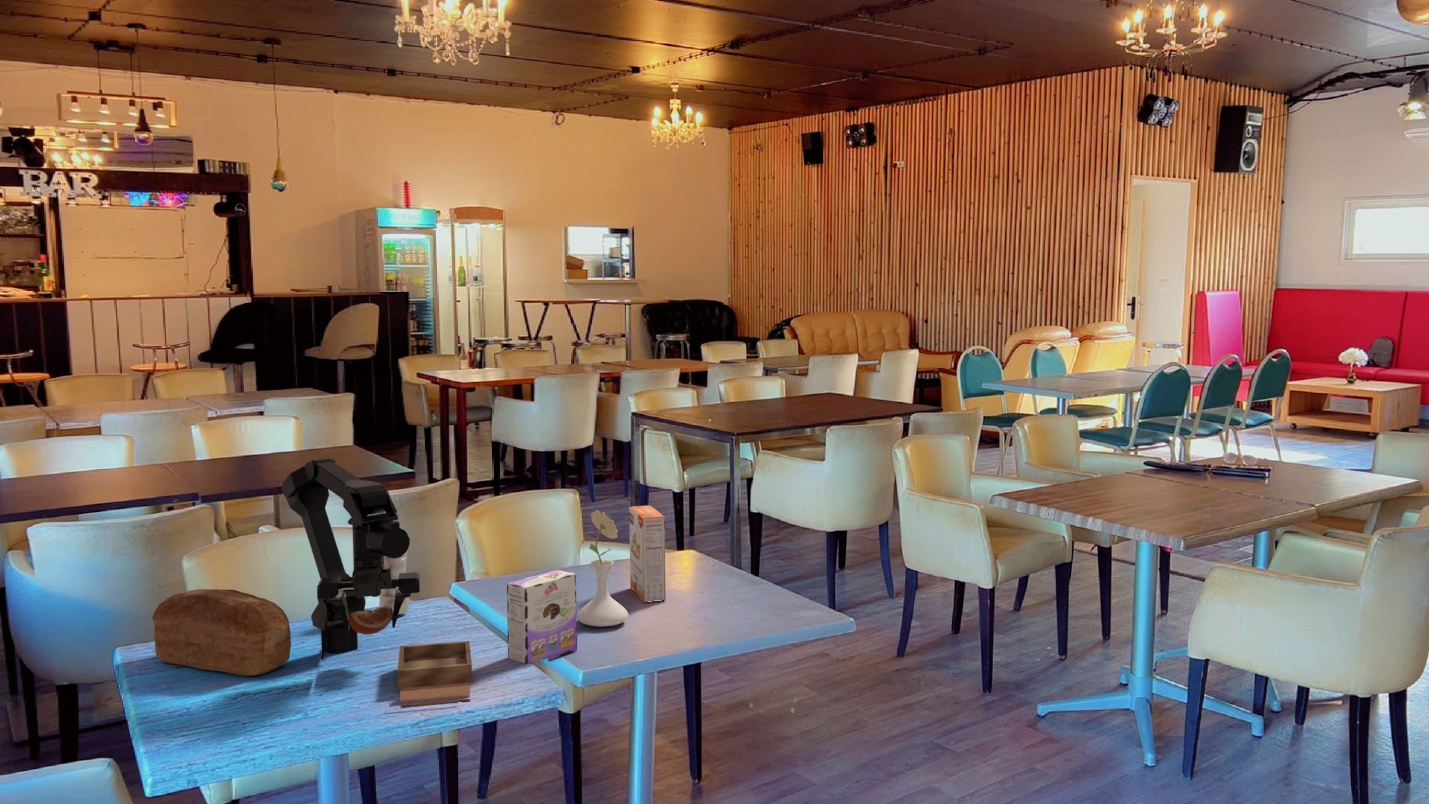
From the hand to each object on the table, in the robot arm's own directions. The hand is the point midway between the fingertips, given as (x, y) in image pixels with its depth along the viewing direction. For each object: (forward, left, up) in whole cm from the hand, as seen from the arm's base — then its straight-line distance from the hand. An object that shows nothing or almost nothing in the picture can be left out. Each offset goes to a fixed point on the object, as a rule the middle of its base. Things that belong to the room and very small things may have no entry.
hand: (370, 628), depth 206 cm
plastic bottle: (+3, +36, -8) cm, 37 cm away
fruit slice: (0, 0, -1) cm, 1 cm away
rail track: (+12, -8, -8) cm, 16 cm away
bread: (-29, +10, -8) cm, 32 cm away
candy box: (+33, -1, -8) cm, 34 cm away
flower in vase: (+48, +19, -8) cm, 52 cm away
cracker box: (+62, +38, -8) cm, 73 cm away
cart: (+12, -11, -7) cm, 18 cm away
